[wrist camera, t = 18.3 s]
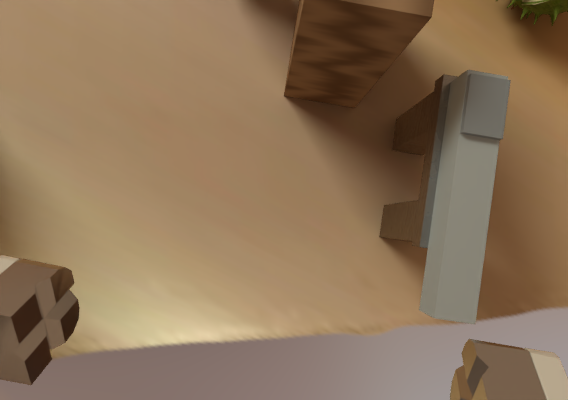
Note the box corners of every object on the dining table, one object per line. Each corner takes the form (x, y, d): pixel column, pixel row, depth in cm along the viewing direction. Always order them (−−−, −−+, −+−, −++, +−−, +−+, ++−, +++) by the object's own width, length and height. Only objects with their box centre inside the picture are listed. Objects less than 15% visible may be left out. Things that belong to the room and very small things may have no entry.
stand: (283, 95, 58) (305, -7, 32) (299, -5, 59) (333, -183, 33) (354, 107, 59) (431, 17, 33) (369, 8, 59) (456, -159, 33)
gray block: (457, 315, 42) (478, 326, 38) (419, 310, 42) (436, 319, 38) (487, 88, 43) (511, 74, 39) (450, 82, 43) (471, 67, 39)
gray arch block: (374, 240, 58) (419, 246, 42) (393, 114, 59) (443, 74, 43) (413, 246, 58) (473, 255, 42) (431, 121, 59) (496, 83, 43)
